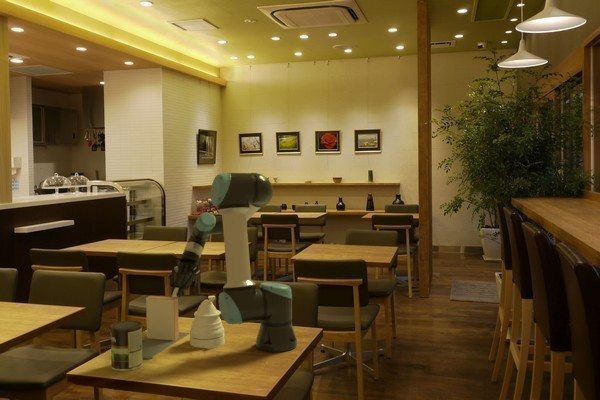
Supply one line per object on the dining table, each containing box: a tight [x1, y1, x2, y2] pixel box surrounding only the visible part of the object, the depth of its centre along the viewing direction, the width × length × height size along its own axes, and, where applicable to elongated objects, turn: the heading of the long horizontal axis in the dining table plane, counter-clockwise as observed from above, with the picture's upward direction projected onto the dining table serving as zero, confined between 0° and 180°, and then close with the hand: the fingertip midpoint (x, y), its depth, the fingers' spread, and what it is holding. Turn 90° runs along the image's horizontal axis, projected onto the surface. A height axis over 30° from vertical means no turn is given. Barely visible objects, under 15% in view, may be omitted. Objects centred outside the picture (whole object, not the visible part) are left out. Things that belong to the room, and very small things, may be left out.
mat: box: [142, 331, 190, 360], centre depth 209 cm, size 30×14×1 cm, turn 164°
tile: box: [145, 295, 180, 341], centre depth 215 cm, size 3×12×16 cm, turn 73°
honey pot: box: [189, 295, 226, 350], centre depth 210 cm, size 13×13×18 cm
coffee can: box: [109, 320, 144, 372], centre depth 187 cm, size 10×10×14 cm
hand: (172, 303), depth 223 cm, fingers closed
